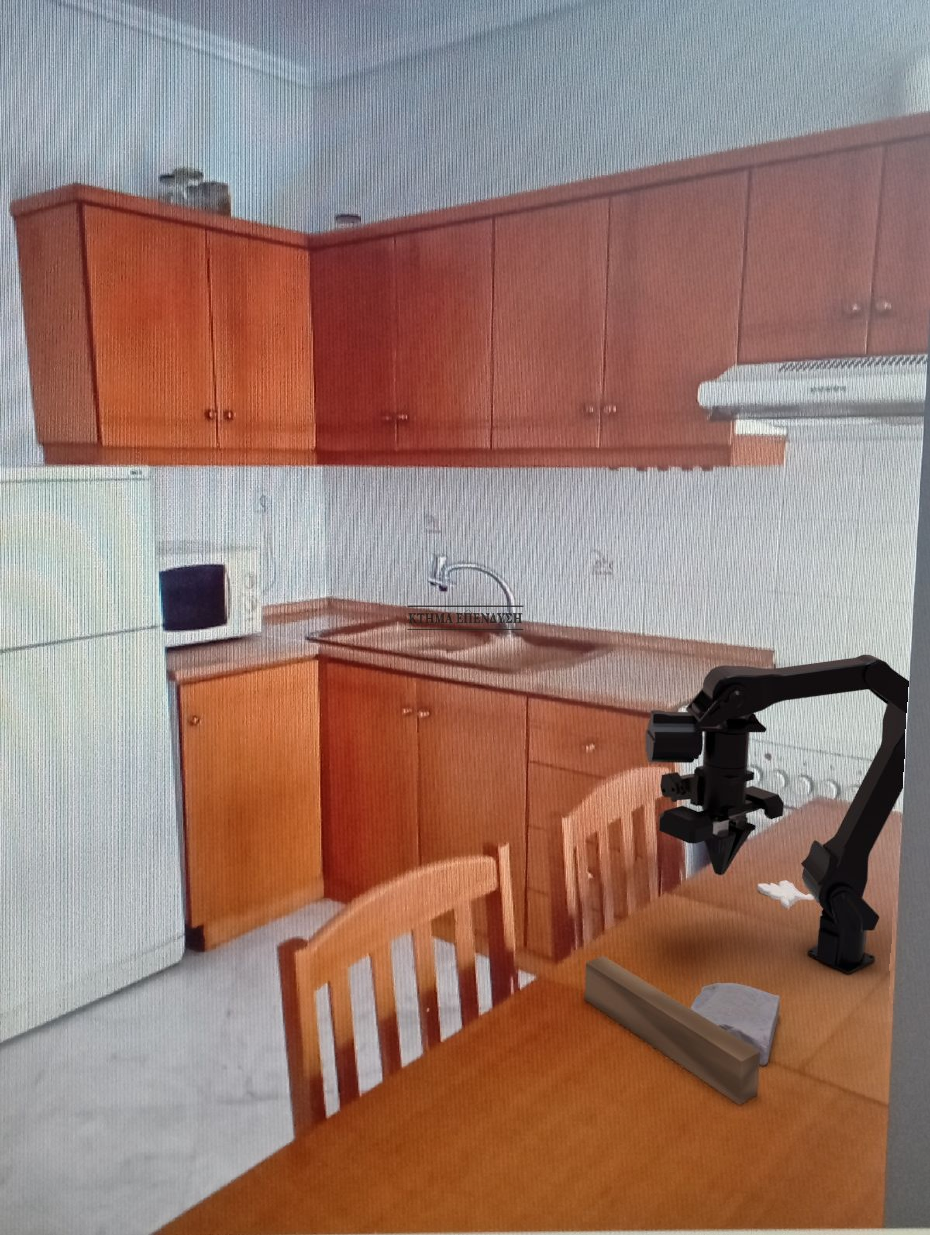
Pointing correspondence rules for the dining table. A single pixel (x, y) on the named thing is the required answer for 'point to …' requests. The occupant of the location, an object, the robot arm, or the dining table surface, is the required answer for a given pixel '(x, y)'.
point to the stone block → (741, 1013)
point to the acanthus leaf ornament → (783, 893)
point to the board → (674, 1029)
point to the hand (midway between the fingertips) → (719, 873)
